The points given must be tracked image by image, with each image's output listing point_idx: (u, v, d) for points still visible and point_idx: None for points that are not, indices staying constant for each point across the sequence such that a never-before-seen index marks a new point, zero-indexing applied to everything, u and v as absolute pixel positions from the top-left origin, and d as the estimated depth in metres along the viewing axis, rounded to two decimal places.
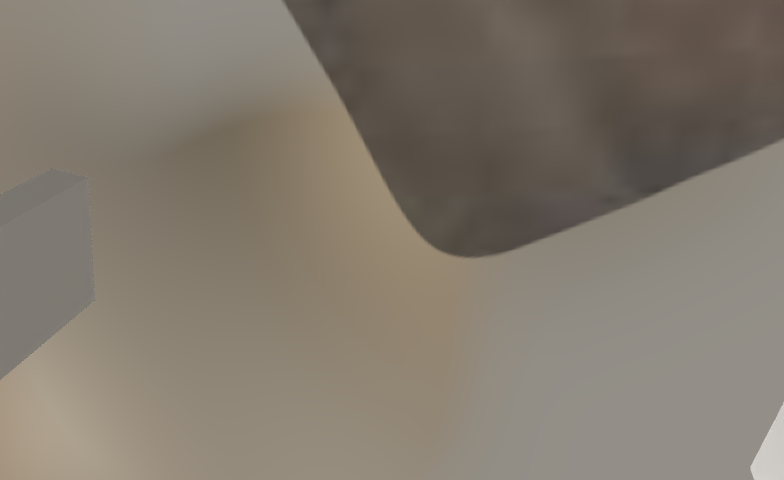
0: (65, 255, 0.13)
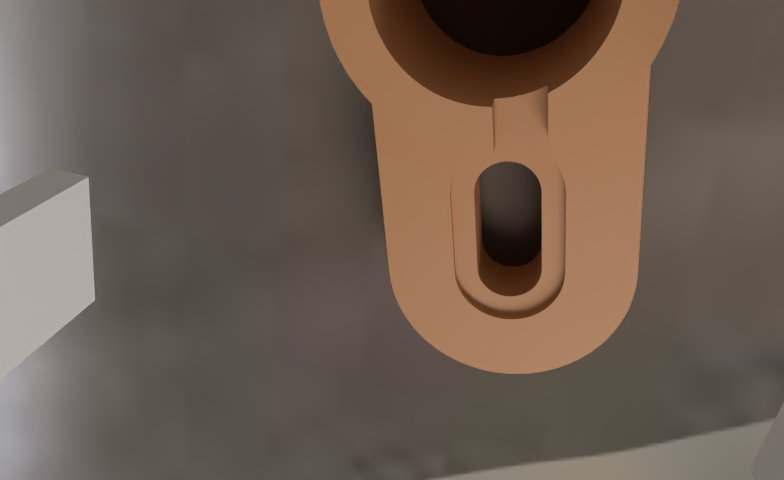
0: (65, 255, 0.13)
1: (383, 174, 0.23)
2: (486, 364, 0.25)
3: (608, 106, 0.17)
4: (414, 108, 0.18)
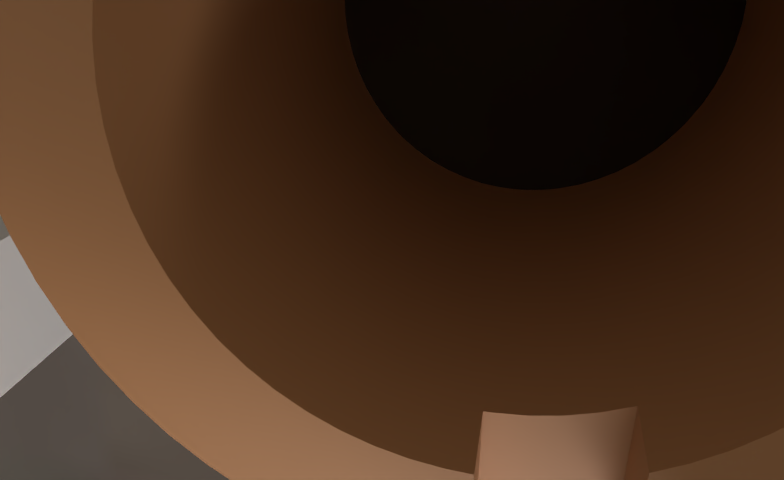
0: None
1: None
2: None
3: None
4: (254, 437, 0.06)
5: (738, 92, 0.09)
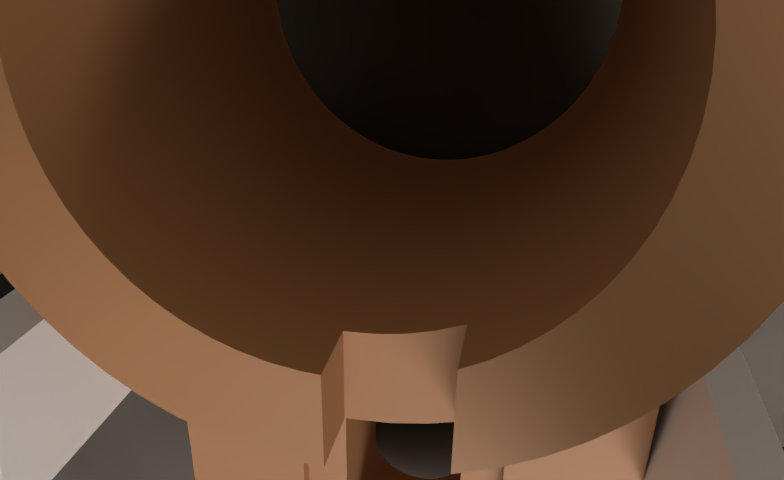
0: None
1: None
2: None
3: (606, 426, 0.06)
4: (141, 346, 0.07)
5: (610, 72, 0.11)
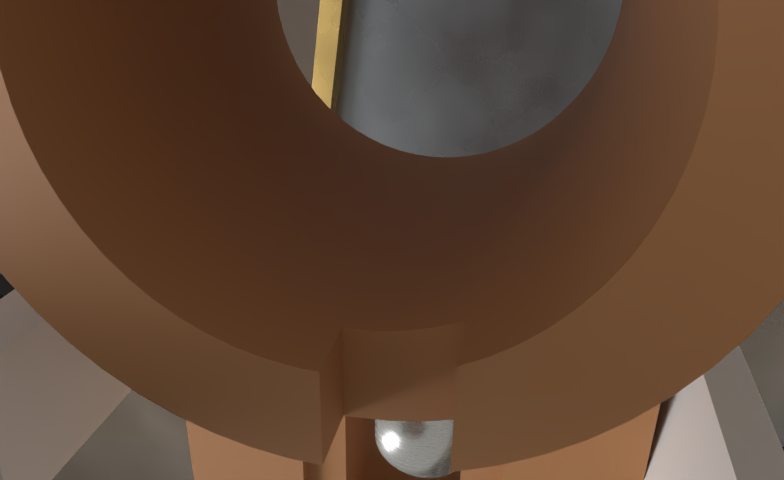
0: None
1: None
2: None
3: (607, 423, 0.06)
4: (139, 343, 0.07)
5: (611, 68, 0.10)
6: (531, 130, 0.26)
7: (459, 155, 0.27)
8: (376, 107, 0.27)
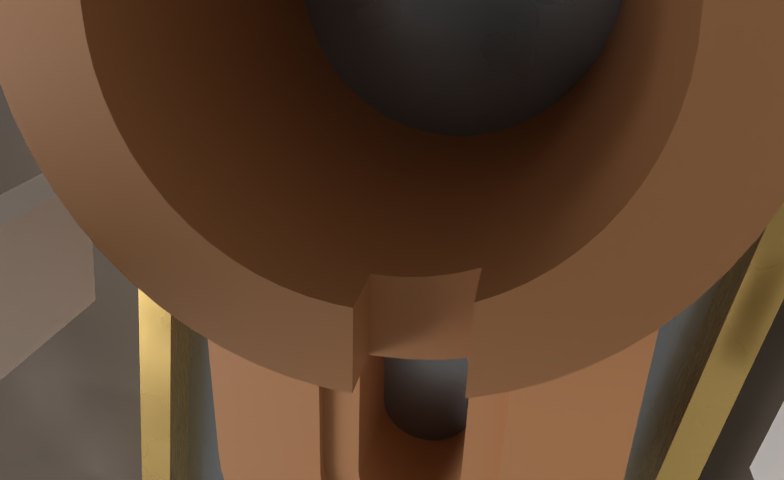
0: (66, 255, 0.13)
1: None
2: None
3: (603, 352, 0.07)
4: (193, 282, 0.08)
5: (611, 53, 0.11)
6: None
7: None
8: None
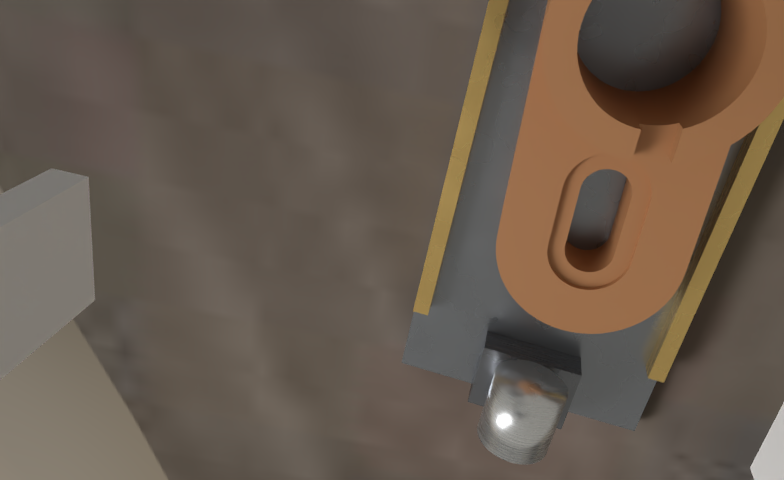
0: (65, 255, 0.13)
1: (517, 159, 0.30)
2: (550, 320, 0.33)
3: (721, 147, 0.24)
4: (585, 118, 0.25)
5: (712, 59, 0.28)
6: None
7: None
8: (507, 142, 0.33)
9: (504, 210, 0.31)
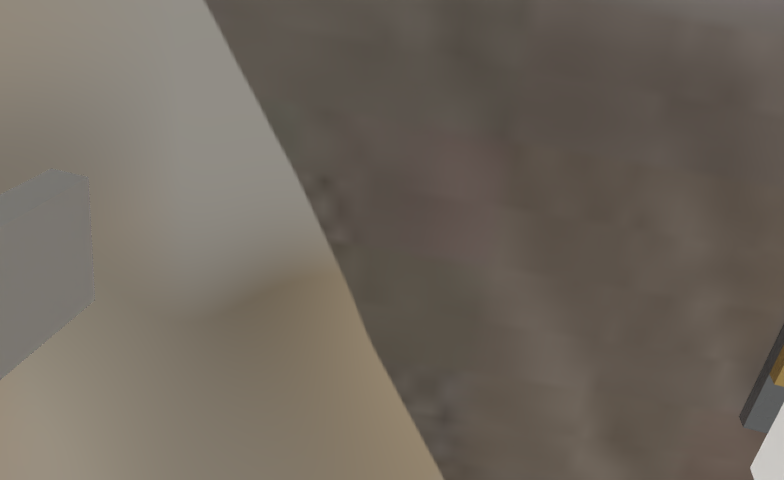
0: (65, 255, 0.13)
1: None
2: None
3: None
4: None
5: None
6: None
7: None
8: None
9: None
